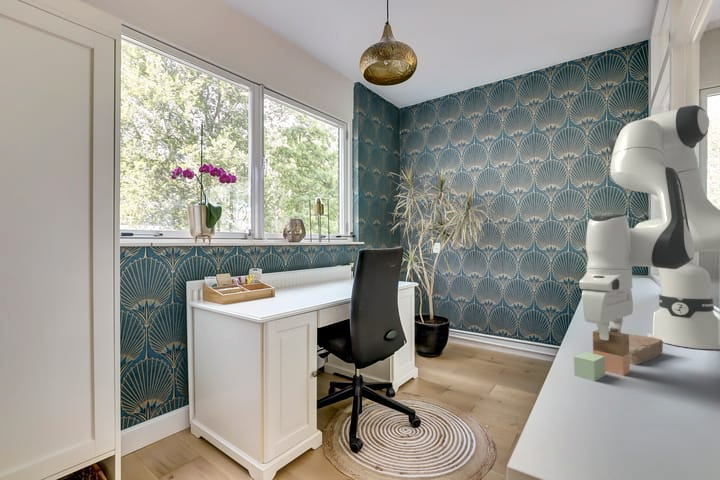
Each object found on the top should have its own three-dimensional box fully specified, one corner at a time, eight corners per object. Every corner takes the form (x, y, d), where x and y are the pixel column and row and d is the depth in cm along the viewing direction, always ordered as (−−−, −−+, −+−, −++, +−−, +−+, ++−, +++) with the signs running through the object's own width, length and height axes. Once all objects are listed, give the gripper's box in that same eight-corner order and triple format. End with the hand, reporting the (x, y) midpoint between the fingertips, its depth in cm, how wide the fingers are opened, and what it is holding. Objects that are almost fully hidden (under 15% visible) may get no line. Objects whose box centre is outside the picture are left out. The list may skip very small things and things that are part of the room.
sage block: (585, 370, 80) (585, 351, 80) (605, 375, 77) (604, 356, 77) (574, 376, 77) (574, 356, 77) (594, 381, 73) (593, 361, 73)
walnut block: (593, 350, 81) (592, 331, 81) (599, 347, 84) (599, 329, 84) (622, 356, 76) (622, 337, 77) (629, 353, 79) (628, 334, 79)
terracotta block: (593, 368, 81) (593, 350, 81) (600, 365, 83) (599, 347, 84) (623, 376, 76) (622, 356, 76) (629, 372, 79) (629, 353, 79)
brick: (637, 367, 83) (636, 348, 83) (599, 357, 90) (599, 340, 90) (664, 356, 91) (663, 339, 91) (627, 348, 98) (627, 332, 98)
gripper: (610, 277, 89) (611, 328, 89) (575, 281, 77) (577, 341, 77) (639, 278, 84) (641, 333, 83) (607, 284, 72) (609, 347, 72)
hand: (610, 337), depth 80 cm, fingers open, 5 cm apart
